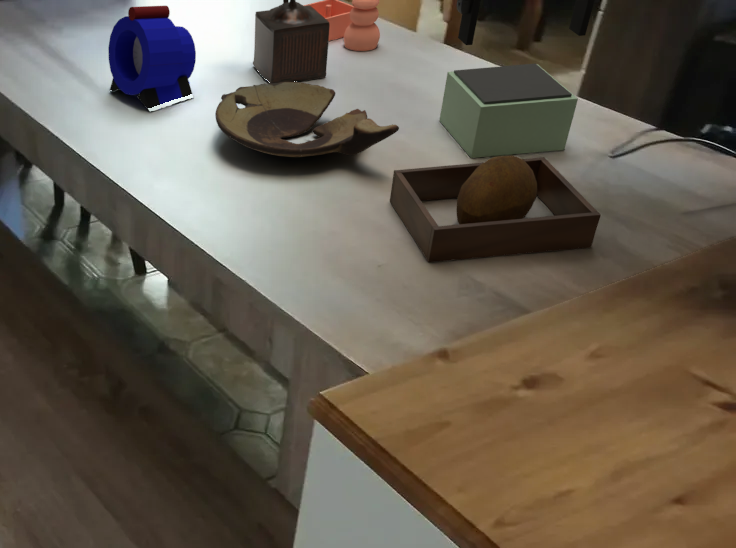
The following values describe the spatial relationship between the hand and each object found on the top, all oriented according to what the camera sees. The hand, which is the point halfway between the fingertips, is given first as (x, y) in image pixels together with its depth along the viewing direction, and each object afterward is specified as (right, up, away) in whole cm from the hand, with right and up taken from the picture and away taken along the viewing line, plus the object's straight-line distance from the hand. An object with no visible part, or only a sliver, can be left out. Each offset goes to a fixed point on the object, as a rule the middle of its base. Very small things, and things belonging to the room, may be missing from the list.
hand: (521, 37), depth 110 cm
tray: (0, -19, +11) cm, 22 cm away
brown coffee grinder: (-21, +18, +55) cm, 61 cm away
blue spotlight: (-42, +12, +50) cm, 67 cm away
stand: (+10, -1, +31) cm, 33 cm away
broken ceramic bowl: (-21, -4, +31) cm, 38 cm away
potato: (0, -20, +11) cm, 23 cm away
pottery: (-7, +30, +67) cm, 73 cm away
